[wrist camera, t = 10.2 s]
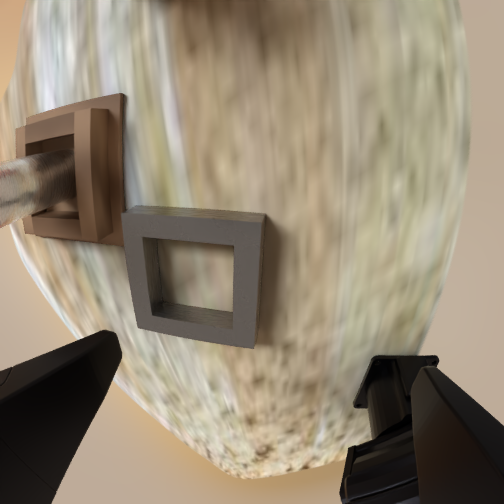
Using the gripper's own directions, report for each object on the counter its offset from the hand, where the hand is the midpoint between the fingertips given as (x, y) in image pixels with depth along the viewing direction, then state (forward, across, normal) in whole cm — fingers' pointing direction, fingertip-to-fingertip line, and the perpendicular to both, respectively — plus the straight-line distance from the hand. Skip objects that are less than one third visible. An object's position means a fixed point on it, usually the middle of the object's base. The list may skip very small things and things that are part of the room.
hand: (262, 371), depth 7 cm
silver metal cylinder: (+11, +17, -4) cm, 21 cm away
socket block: (+12, +6, +3) cm, 14 cm away
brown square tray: (+11, +17, -4) cm, 21 cm away
